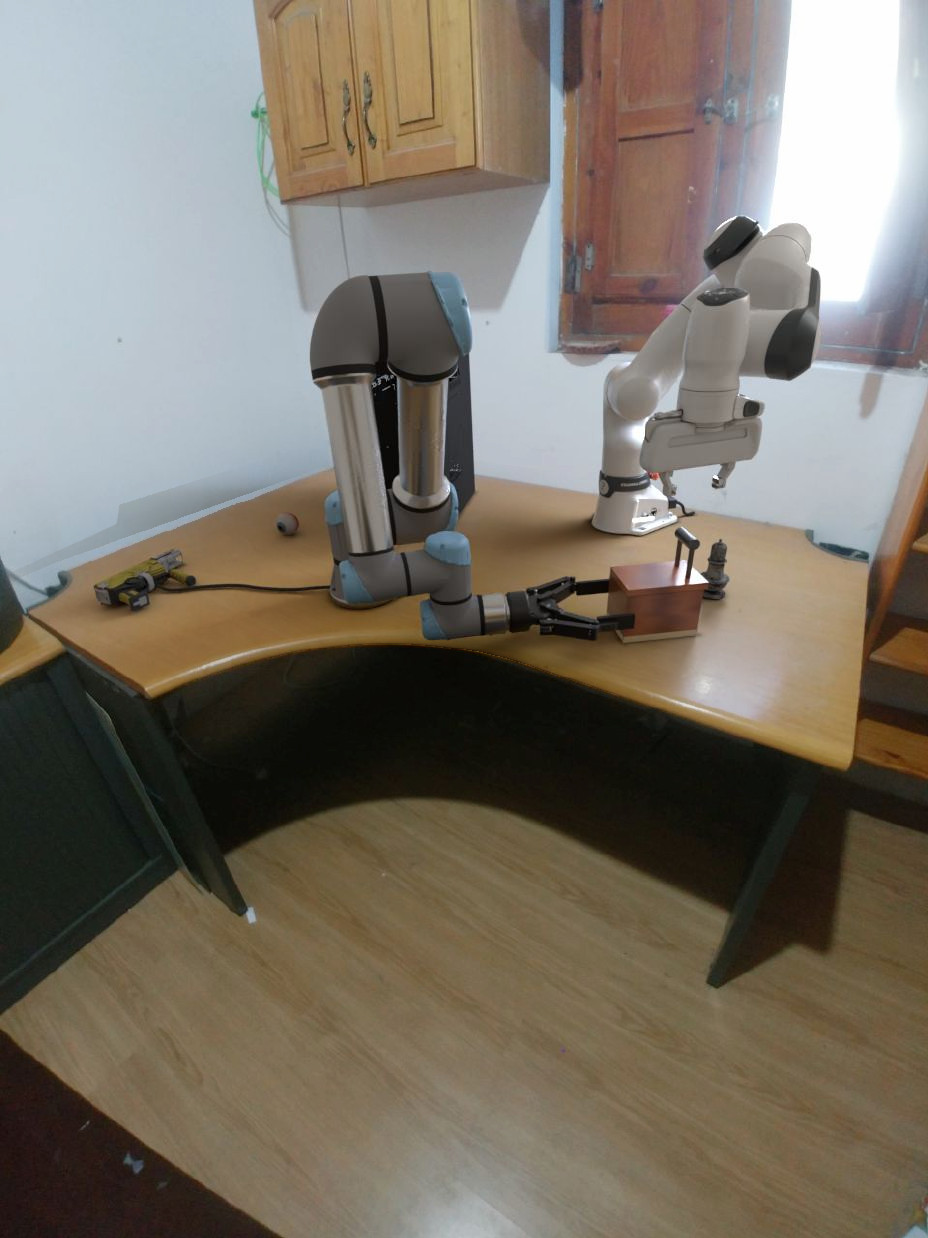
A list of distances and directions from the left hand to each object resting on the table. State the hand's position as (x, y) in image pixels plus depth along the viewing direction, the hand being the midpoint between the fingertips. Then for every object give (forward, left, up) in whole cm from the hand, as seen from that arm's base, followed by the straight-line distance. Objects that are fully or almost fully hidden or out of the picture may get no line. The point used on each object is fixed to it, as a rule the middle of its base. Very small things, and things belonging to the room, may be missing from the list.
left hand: (621, 602), depth 110 cm
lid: (+6, +4, +3) cm, 7 cm away
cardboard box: (-60, +54, -6) cm, 81 cm away
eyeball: (-92, +30, -6) cm, 97 cm away
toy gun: (-103, -5, -6) cm, 103 cm away
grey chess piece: (+17, +20, -6) cm, 26 cm away
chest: (+5, +4, -6) cm, 9 cm away
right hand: (+10, +6, +20) cm, 23 cm away
